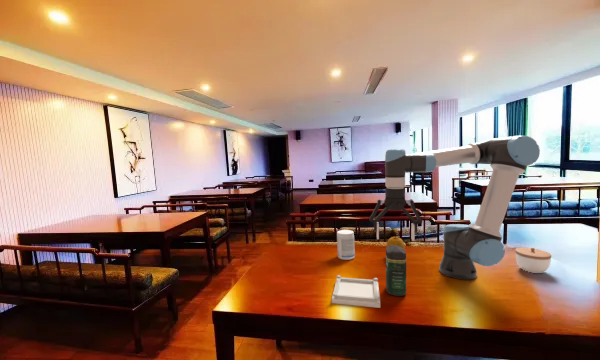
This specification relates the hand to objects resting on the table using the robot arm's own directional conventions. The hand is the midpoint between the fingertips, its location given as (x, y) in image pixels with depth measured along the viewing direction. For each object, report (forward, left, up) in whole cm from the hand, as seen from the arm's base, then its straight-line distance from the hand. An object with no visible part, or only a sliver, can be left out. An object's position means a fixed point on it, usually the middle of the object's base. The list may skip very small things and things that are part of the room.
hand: (395, 239), depth 107 cm
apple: (-4, -39, -22) cm, 45 cm away
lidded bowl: (-64, -31, -22) cm, 75 cm away
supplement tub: (+23, -35, -22) cm, 47 cm away
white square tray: (+16, +5, -22) cm, 28 cm away
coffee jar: (0, 0, -22) cm, 22 cm away
